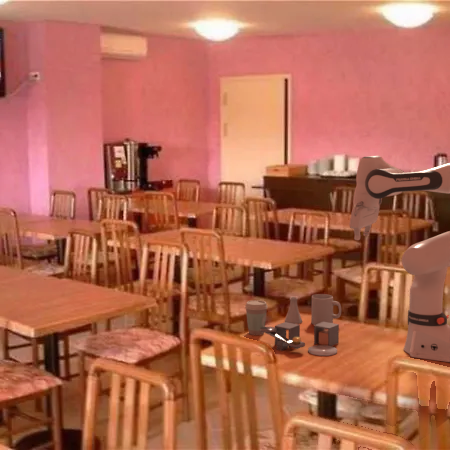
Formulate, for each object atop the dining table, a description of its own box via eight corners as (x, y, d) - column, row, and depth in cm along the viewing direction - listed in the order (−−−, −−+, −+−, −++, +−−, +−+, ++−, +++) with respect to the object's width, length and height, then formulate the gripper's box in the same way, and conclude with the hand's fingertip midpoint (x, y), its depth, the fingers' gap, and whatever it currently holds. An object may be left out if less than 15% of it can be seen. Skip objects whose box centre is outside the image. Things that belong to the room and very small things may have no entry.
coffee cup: (265, 336, 288) (265, 305, 286) (243, 335, 290) (243, 304, 288) (269, 330, 296) (269, 300, 295) (247, 329, 298) (247, 299, 296)
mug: (308, 325, 304) (308, 297, 302) (314, 319, 312) (315, 293, 310) (338, 328, 299) (338, 300, 298) (343, 322, 307) (344, 295, 305)
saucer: (342, 350, 270) (342, 348, 270) (327, 357, 263) (327, 355, 262) (318, 345, 276) (318, 343, 276) (302, 352, 269) (302, 350, 269)
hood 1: (299, 343, 279) (299, 324, 278) (289, 347, 274) (289, 328, 273) (285, 340, 283) (285, 321, 282) (275, 344, 278) (275, 325, 277)
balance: (308, 351, 270) (308, 334, 269) (298, 355, 265) (298, 338, 264) (266, 342, 281) (266, 325, 280) (256, 346, 276) (256, 329, 275)
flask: (301, 325, 304) (301, 300, 303) (283, 324, 305) (283, 299, 304) (303, 320, 311) (303, 296, 310) (285, 319, 312) (285, 295, 311)
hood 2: (338, 343, 279) (338, 324, 278) (329, 347, 274) (329, 328, 273) (323, 340, 283) (323, 321, 282) (314, 344, 278) (314, 325, 277)
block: (333, 343, 279) (334, 331, 279) (328, 346, 276) (328, 333, 276) (324, 341, 282) (324, 329, 281) (318, 344, 279) (318, 332, 278)
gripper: (364, 205, 266) (360, 243, 268) (383, 198, 283) (378, 235, 286) (347, 202, 268) (343, 240, 271) (367, 196, 286) (362, 232, 289)
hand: (361, 237), depth 279 cm, fingers open, 8 cm apart
